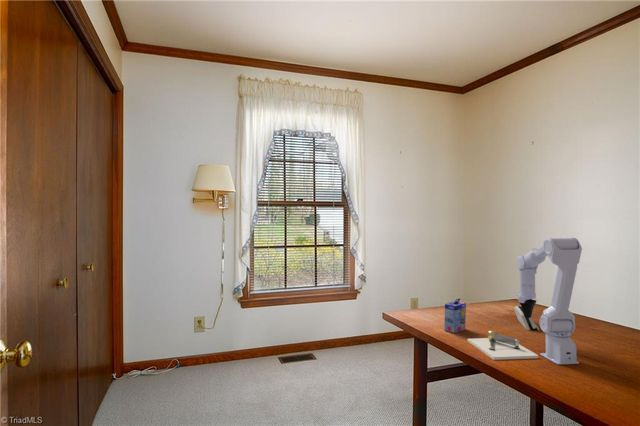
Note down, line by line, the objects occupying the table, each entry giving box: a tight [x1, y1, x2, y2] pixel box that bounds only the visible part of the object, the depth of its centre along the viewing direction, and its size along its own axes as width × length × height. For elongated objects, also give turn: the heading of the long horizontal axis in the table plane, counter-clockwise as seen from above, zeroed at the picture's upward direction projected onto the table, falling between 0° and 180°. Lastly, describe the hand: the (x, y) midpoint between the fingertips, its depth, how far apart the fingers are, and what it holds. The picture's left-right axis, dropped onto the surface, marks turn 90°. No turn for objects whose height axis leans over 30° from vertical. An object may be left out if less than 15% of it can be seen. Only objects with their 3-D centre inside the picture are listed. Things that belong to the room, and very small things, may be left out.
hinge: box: [513, 304, 540, 331], centre depth 175 cm, size 17×5×10 cm, turn 164°
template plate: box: [467, 337, 539, 361], centre depth 143 cm, size 20×17×2 cm
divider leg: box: [487, 329, 520, 348], centre depth 146 cm, size 12×3×3 cm, turn 33°
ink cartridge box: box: [444, 297, 467, 334], centre depth 168 cm, size 10×6×14 cm, turn 130°
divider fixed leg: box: [490, 341, 494, 350], centre depth 144 cm, size 10×1×1 cm, turn 154°
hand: (527, 317), depth 154 cm, fingers closed
